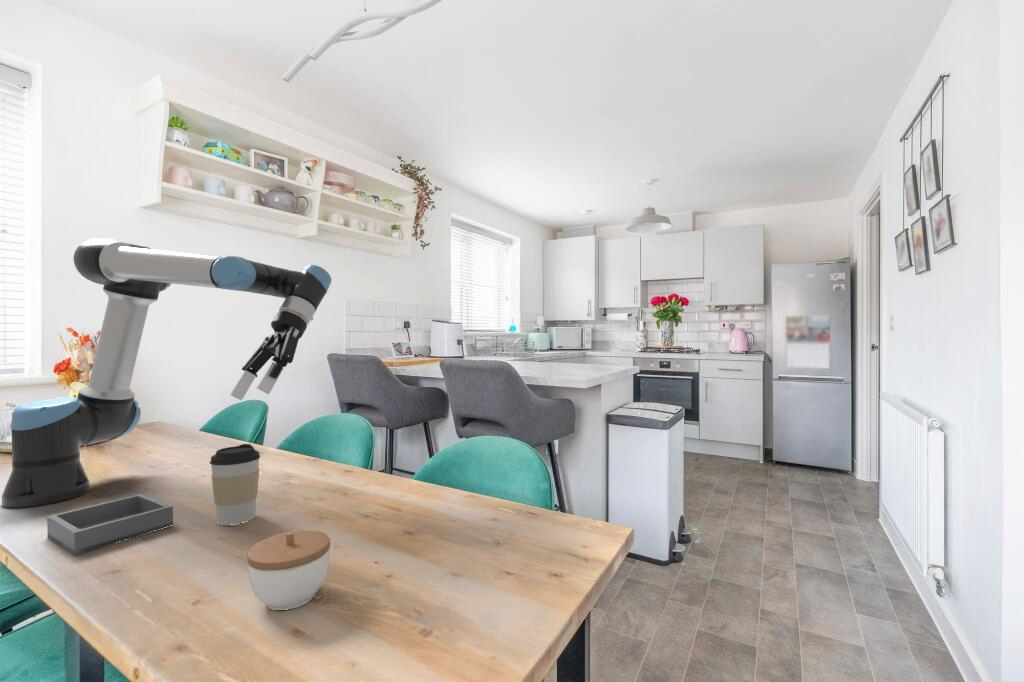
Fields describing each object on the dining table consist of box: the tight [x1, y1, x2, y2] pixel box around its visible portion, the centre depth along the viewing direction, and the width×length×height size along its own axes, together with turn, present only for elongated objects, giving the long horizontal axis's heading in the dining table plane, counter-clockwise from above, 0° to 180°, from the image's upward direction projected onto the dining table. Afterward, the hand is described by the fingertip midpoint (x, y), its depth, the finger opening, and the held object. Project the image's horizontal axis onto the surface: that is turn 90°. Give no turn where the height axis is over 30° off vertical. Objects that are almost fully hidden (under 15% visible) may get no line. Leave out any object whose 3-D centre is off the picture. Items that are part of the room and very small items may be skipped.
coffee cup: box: [209, 443, 261, 525], centre depth 97 cm, size 9×9×15 cm
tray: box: [46, 493, 174, 556], centre depth 92 cm, size 15×15×4 cm
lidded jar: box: [246, 529, 331, 611], centre depth 67 cm, size 11×11×9 cm
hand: (248, 394), depth 105 cm, fingers open, 13 cm apart
